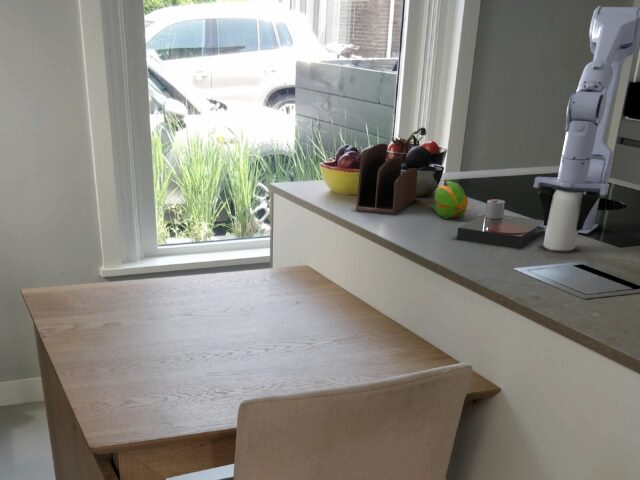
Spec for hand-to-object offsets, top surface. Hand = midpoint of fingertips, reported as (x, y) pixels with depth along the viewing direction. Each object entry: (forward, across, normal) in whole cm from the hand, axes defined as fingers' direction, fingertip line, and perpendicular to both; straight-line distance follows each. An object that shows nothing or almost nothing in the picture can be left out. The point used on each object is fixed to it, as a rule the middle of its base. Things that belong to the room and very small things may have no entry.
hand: (562, 227), depth 174 cm
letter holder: (+5, -49, +18) cm, 52 cm away
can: (+5, 0, 0) cm, 5 cm away
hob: (+4, -14, +4) cm, 15 cm away
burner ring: (+2, -12, 0) cm, 12 cm away
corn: (+5, -33, +18) cm, 38 cm away
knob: (+2, -18, +10) cm, 20 cm away
